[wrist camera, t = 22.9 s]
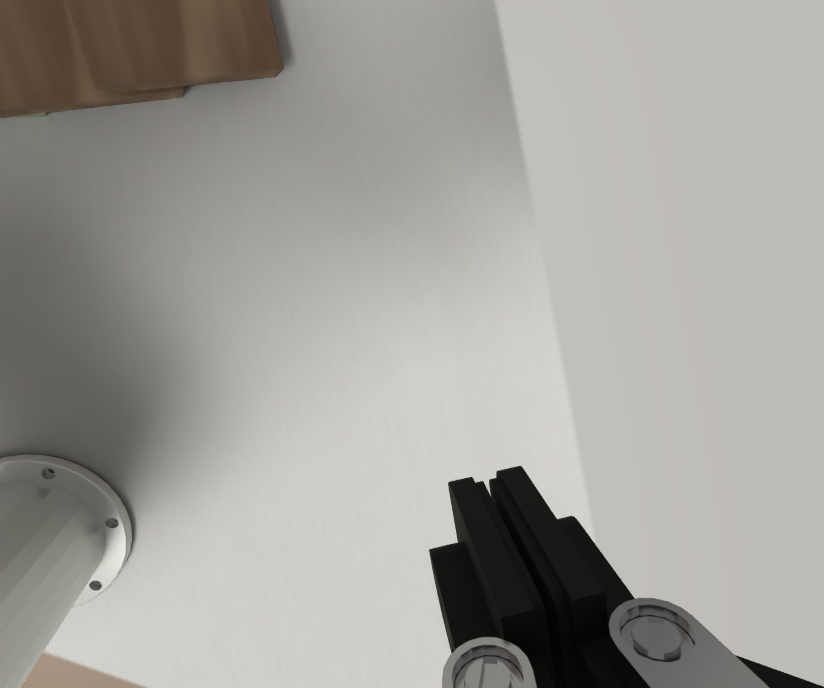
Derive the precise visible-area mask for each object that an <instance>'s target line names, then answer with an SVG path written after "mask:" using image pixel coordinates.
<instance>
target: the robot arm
mask: <svg viewBox="0 0 824 688" xmlns="http://www.w3.org/2000/svg"><path fill="white" fill-rule="evenodd" d="M496 477H497V478H494V479H490V480H489V485H490V493H491V496H490V494H489V492H488V490H487V488H486V486H485V484H484V482H483V481H481V482H476V483H475V481H474V479H473V478H472V477H469V478H464V479H460V480H455V481H451V482H448V486H449V493H450V499H451V504H452V510H453V516H454V522H455V528H456V533H457V539H458V543H454V544H450V545H446V546H441V547H437V548H433V549H429V552H430V558H431V563H432V569H433V574H434V579H435V584H436V589H437V594H438V598H439V603H440V607H441V612H442V616H443V620H444V624H445V629H446V633H447V637H448V641H449V645H450V649H451V653H452V654H451V655H450V656H449V658H448V660H447V662H446V664H445V666H444V670H443V677H442V688H824V687H823V686H820V685H817V684H814V683H812V682H809V681H806V680H803V679H801V678H798V677H795V676H792V675H789V674H787V673H784V672H781V671H778V670H775V669H772V668H770V667H767V666H764V665H761V664H759V663H756V662H753V661H750V660H747V659H744V658H742V657H739V656H736V655H734V654H733V653H732V652H731V651H730V650H729V649H727V648H726V647H725V646H724V645H723V644H722V643H721V642H720V641H719V640H718V639H717V638H716V637H715V636H714V635H712V634H711V633H710V632H709V631H708V630H707V629H706V628H705V627H704V626H703V625H702V624H701V623H700V622H698V620H696V619H695V618H694V617H693V616H692V615H691V614H689V613H688V612H687V611H685V610H684V609H682V608H681V607H679V606H677V605H674V604H672V603H670V602H668V601H663V600H658V599H654V598H637V599H635V598H634V597H633V596H632V594H631V593H630V592H629V590H628V589H627V587H626V586H625V585H624V583H623V582H622V581H621V579H620V578H619V577H618V575H617V574H616V572H615V571H614V570H613V568H612V567H611V565H610V564H609V563H608V561H607V560H606V559H605V557H604V556H603V554H602V553H601V552H600V550H599V549H598V547H597V546H596V545H595V543H594V542H593V541H592V539H591V538H590V536H589V535H588V534H587V532H586V531H585V530H584V528H583V527H582V526H581V524H580V523H579V521H578V520H577V519H576V518H575V517H573V516H569V517H565V518H561V519H557V518H556V517H555V515H554V514H553V512H552V511H551V510H550V508H549V507H548V505H547V504H546V502H545V501H544V499H543V498H542V496H541V495H540V493H539V492H538V490H537V489H536V487H535V486H534V484H533V483H532V481H531V480H530V478H529V477H528V475H527V474H526V472H525V471H524V469H523V468H522V467H521V466H517V467H513V468H509V469H504V470H500V471H497V473H496ZM131 543H132V529H131V522H130V519H129V516H128V513H127V510H126V508H125V506H124V505H123V503H122V501H121V499H120V498H119V496H118V495H117V494H116V493H115V492H114V490H113V489H112V488H111V487H110V486H109V485H108V484H107V483H106V482H105V481H103V480H102V479H101V478H100V477H98V476H97V475H96V474H94V473H93V472H91V471H89V470H87V469H85V468H84V467H82V466H80V465H78V464H75V463H72V462H69V461H67V460H64V459H61V458H55V457H50V456H45V455H27V454H24V455H15V456H7V457H3V458H0V688H20V687H21V686H22V684H23V683H24V681H25V679H26V678H27V676H28V675H29V673H30V672H31V670H32V669H33V667H34V665H35V664H36V662H37V661H38V659H39V658H40V656H41V655H42V653H43V651H44V650H45V648H46V647H47V645H48V644H49V642H50V641H51V639H52V637H53V636H54V634H55V633H56V631H57V630H58V628H59V627H60V625H61V623H62V622H63V620H64V619H65V617H66V616H67V614H68V613H69V611H70V609H71V608H73V607H76V606H80V605H82V604H84V603H86V602H88V601H90V600H92V599H94V598H96V597H97V596H98V595H100V594H101V593H102V592H104V591H105V590H106V589H107V588H108V587H109V586H110V585H111V584H112V583H113V582H114V580H115V579H116V578H117V577H118V575H119V573H120V572H121V570H122V568H123V567H124V565H125V563H126V561H127V558H128V556H129V553H130V550H131Z"/></svg>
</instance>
